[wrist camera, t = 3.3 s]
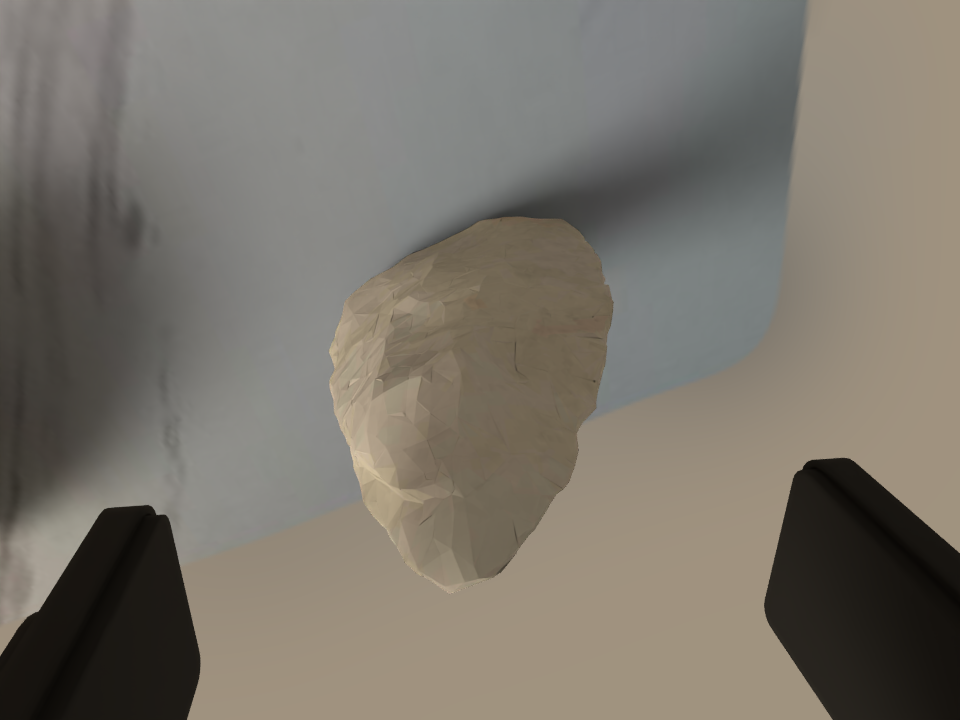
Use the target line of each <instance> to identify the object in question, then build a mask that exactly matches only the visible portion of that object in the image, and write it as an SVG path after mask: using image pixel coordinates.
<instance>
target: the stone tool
mask: <svg viewBox="0 0 960 720" xmlns="http://www.w3.org/2000/svg"><path fill="white" fill-rule="evenodd" d="M584 240H585V238H584V237H583V236H582V234H581V233H580V232H579V230H577V229H576V228H574V227H573V226H571V225H570V224H569V223H567V222H566V221H564V220H563V219H535V218H527V217H521V216H518V217H502V218H497V219H486V220H482V221H478V222H477V223H475V224H474V225H472V226H471V227H469V228H467V229H466V230H464V231H461V232H459V233H457V234H455V235H453V236H451V237H449V238H447V239H445V240H443V241H441V242H439V243H437V244H434V245H432V246H430V247H428V248H426V249H423V250H421V251H418V252H415V253H413V254H410V255H408V256H407V257H405V258H404V259H403V260H401V261H400V262H399V263H398V264H396V265H395V266H394V267H392V268H390V269H388V270H386V271H385V272H383V273H381V274H379V275H377V276H375V277H373V278H371V279H370V280H369V281H367V282H366V283H365V284H364V285H362V286H361V287H360V288H359V289H358V290H356V291H355V292H354V293H353V294H352V295H351V296H350V297H349V298H348V299H347V300H346V301H345V304H344V309H343V314H342V317H341V320H340V322H339V325H338V327H337V329H336V332H335V338H334V340H333V343H332V345H331V347H330V350H329V353H330V355H331V357H332V360H333V364H334V367H335V370H334V373H333V375H332V376H331V379H330V382H329V384H330V391H331V394H332V397H333V400H334V414H335V415H336V417H337V419H338V421H339V425H340V429H341V430H342V432H343V434H344V436H345V437H346V440H347V444H348V445H349V446H350V450H351V455H352V459H353V462H354V465H353V468H354V470H355V473H356V475H357V478H358V480H359V482H360V488H361V492H362V497H363V502H364V504H365V505H366V507H367V508H368V509H369V511H370V512H371V514H372V515H373V517H374V518H375V519H376V520H377V521H378V522H379V523H380V524H381V525H382V526H383V527H385V528H386V530H387V532H388V534H389V536H390V539H391V540H392V541H393V543H394V544H395V545H396V546H397V548H398V549H399V551H400V553H401V555H402V558H403V560H404V562H405V563H406V564H407V565H408V566H409V567H410V568H412V569H413V570H414V572H415V573H416V574H418V575H421V576H423V577H426V578H427V579H429V580H430V581H432V582H433V583H435V584H436V585H438V586H439V587H440V588H442V589H443V590H445V591H446V592H448V593H449V594H452V593H455V592H457V591H459V590H462V589H465V588H467V587H470V586H473V585H475V584H478V583H480V582H482V581H485V580H488V579H490V578H493V577H494V576H496V575H497V574H499V573H501V572H502V570H503V569H504V568H505V567H506V566H507V564H508V563H509V562H510V560H511V559H512V558H513V557H514V556H515V554H516V552H517V551H518V549H519V548H520V546H521V545H522V544H523V542H524V541H525V540H526V538H527V537H528V536H529V535H530V534H531V533H532V532H533V531H534V530H535V528H536V526H537V525H538V523H539V522H540V520H541V519H542V517H543V515H544V514H545V512H546V511H547V509H548V507H549V505H550V503H551V502H552V501H553V499H554V497H555V496H556V494H558V493H559V492H560V491H561V490H563V489H564V488H565V487H566V485H567V484H568V483H569V481H570V478H571V475H572V472H573V470H574V466H575V463H576V459H577V454H578V442H577V431H578V430H579V428H580V426H581V424H582V423H583V422H584V421H585V420H586V418H587V417H588V416H589V415H590V414H591V413H592V412H593V411H594V410H595V409H596V399H597V393H598V389H599V385H600V381H601V377H602V373H603V369H604V367H605V361H606V352H607V345H606V342H607V334H608V331H609V329H610V326H611V320H612V313H613V303H614V302H613V300H612V298H611V293H610V288H609V285H605V284H604V282H605V277H604V276H603V274H602V267H601V261H600V259H599V257H598V255H597V254H595V252H594V250H593V248H592V247H591V246H590V245H589V243H588V242H586V241H584Z"/></svg>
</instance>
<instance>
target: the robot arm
mask: <svg viewBox="0 0 960 720" xmlns="http://www.w3.org/2000/svg"><path fill="white" fill-rule="evenodd" d="M764 608H765V614H766V618H767V621H768V623H769V625H770V627H771V628H772V630H773V631H774V633H775V634H776V636H777V637H778V639H779V640H780V642H781V643H782V645H783V646H784V648H785V649H786V651H787V652H788V654H789V655H790V657H791V658H792V660H793V661H794V662H795V664H796V666H797V667H798V669H799V670H800V672H801V673H802V674H803V676H804V677H805V679H806V681H807V682H808V683H809V685H810V686H811V688H812V689H813V691H814V692H815V694H816V695H817V697H818V698H819V700H820V701H821V703H822V704H823V706H824V707H825V709H826V710H827V712H828V713H829V715H830V716H831V718H832V719H833V720H960V553H959V552H958V551H957V550H955V549H954V548H953V547H952V546H951V545H950V544H948V543H947V542H946V541H945V540H944V539H943V538H941V537H940V536H939V535H938V534H937V533H935V531H933V530H932V529H931V528H930V527H929V526H928V525H927V524H925V523H924V522H923V521H922V520H921V519H919V517H917V516H916V515H915V514H914V513H913V512H912V511H910V510H909V509H908V508H907V507H906V506H905V505H904V504H902V503H901V502H900V501H899V500H898V499H896V498H895V497H894V496H893V495H892V494H891V493H890V492H889V491H887V490H886V489H885V488H884V487H883V486H882V485H881V484H879V483H878V482H877V481H876V480H875V479H874V478H872V477H871V476H870V475H869V474H868V473H866V471H864V470H863V469H862V468H861V467H860V466H859V465H857V464H856V463H855V462H854V461H852V460H851V459H848V458H834V459H820V460H811V461H808V462H807V463H806V464H805V465H804V466H803V469H802V470H800V471H798V472H797V473H796V474H795V475H794V478H793V482H792V486H791V490H790V494H789V499H788V503H787V507H786V512H785V516H784V520H783V524H782V529H781V533H780V537H779V542H778V546H777V550H776V555H775V558H774V563H773V567H772V572H771V576H770V580H769V584H768V588H767V593H766V597H765V603H764ZM199 675H200V653H199V648H198V644H197V639H196V635H195V631H194V626H193V622H192V618H191V613H190V609H189V605H188V600H187V595H186V591H185V587H184V583H183V578H182V574H181V569H180V565H179V560H178V556H177V551H176V547H175V543H174V538H173V534H172V529H171V525H170V522H169V519H168V517H167V516H166V515H156V513H155V510H154V509H153V507H152V506H149V505H144V506H129V507H115V508H107V509H104V510H103V511H102V512H101V513H100V515H99V516H98V518H97V520H96V521H95V523H94V524H93V526H92V527H91V529H90V531H89V532H88V534H87V535H86V537H85V539H84V540H83V542H82V543H81V545H80V547H79V548H78V550H77V551H76V553H75V555H74V556H73V558H72V559H71V561H70V562H69V564H68V566H67V567H66V569H65V570H64V572H63V574H62V575H61V577H60V578H59V580H58V582H57V583H56V585H55V586H54V588H53V590H52V591H51V593H50V594H49V596H48V597H47V599H46V601H45V602H44V604H43V605H42V607H41V609H40V610H39V612H35V613H34V614H32V615H30V616H29V617H27V618H26V619H25V621H24V622H23V623H22V624H21V626H20V627H19V628H18V630H17V631H16V633H15V634H14V636H13V637H12V639H11V640H10V642H9V643H8V645H7V647H6V648H5V650H4V651H3V653H2V654H1V656H0V720H187V717H188V714H189V711H190V707H191V704H192V701H193V697H194V694H195V691H196V688H197V684H198V680H199Z"/></svg>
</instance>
